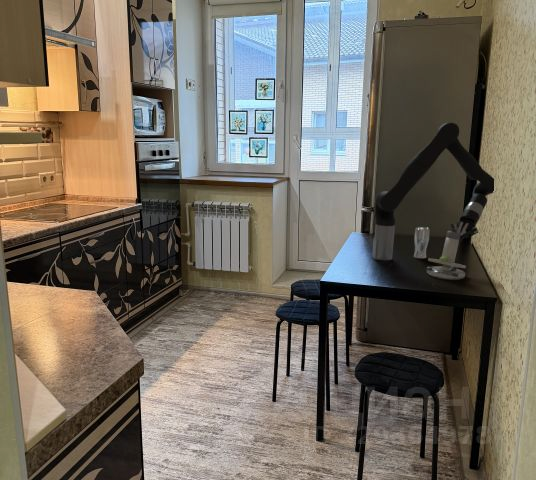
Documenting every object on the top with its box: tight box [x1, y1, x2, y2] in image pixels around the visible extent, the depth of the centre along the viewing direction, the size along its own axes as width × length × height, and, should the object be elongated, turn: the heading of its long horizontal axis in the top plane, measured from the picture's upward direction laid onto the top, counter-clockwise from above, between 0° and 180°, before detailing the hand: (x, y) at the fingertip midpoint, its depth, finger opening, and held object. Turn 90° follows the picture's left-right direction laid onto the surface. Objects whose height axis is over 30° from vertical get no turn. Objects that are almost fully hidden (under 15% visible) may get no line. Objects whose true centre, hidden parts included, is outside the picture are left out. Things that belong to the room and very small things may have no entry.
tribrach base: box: [426, 264, 466, 281], centre depth 211 cm, size 16×16×4 cm
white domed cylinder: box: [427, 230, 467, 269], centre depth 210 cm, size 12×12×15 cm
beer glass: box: [413, 226, 430, 260], centre depth 239 cm, size 7×7×15 cm
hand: (456, 243), depth 213 cm, fingers closed
